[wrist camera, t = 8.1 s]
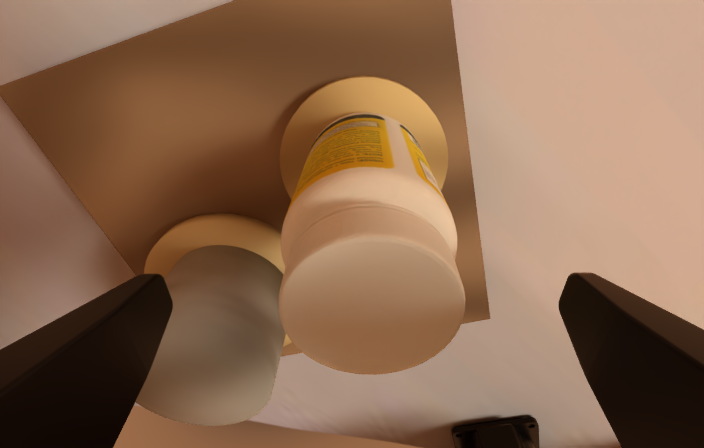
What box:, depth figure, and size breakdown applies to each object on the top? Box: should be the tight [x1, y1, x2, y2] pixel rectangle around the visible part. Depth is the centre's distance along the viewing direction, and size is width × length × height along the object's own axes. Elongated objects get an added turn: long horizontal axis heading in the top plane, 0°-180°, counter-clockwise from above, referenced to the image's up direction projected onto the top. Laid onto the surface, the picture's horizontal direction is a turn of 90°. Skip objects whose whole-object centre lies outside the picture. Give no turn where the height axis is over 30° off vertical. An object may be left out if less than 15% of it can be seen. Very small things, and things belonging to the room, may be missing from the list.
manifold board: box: [0, 0, 490, 426], centre depth 15 cm, size 18×18×7 cm
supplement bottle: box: [278, 112, 465, 374], centre depth 11 cm, size 5×5×8 cm
